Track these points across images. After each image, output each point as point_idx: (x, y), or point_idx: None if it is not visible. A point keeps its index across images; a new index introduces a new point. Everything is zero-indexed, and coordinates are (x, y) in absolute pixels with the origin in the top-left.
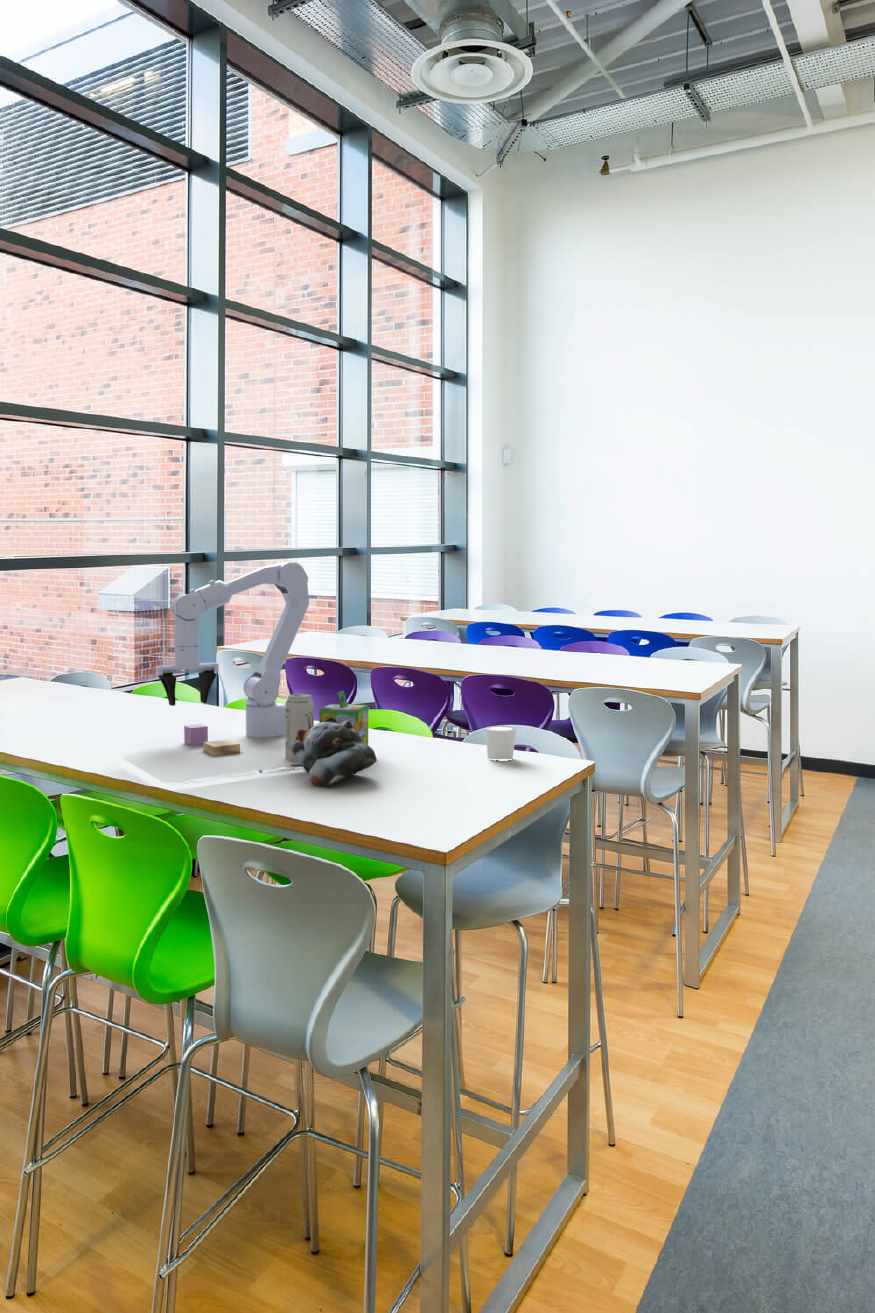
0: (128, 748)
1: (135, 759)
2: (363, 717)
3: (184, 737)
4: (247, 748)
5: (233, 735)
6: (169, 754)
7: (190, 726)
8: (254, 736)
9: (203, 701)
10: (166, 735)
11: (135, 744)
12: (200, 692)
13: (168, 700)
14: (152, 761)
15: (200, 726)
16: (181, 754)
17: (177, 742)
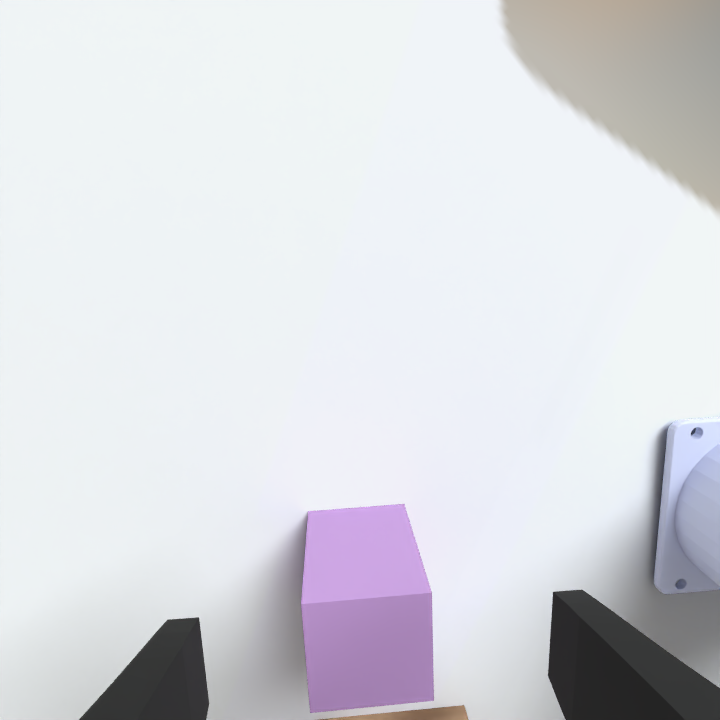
0: (11, 349)
1: (4, 639)
2: None
3: (305, 551)
4: None
5: (708, 276)
6: (194, 604)
7: (328, 656)
8: (705, 573)
9: (556, 677)
10: (347, 28)
11: (75, 245)
12: (627, 669)
13: (138, 658)
14: (77, 711)
15: (390, 683)
16: (250, 629)
17: (333, 317)
